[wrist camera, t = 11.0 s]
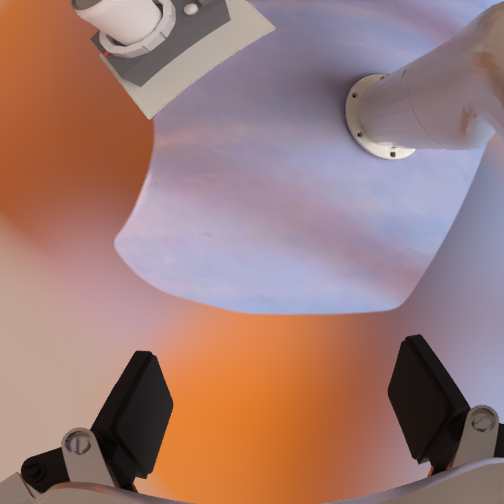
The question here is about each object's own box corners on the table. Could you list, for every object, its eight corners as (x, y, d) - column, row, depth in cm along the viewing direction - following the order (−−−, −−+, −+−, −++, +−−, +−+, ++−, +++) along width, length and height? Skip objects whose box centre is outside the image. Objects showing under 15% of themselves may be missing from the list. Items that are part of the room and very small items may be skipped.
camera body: (192, -13, 26) (179, -40, 18) (230, 20, 28) (223, -8, 21) (110, 49, 30) (82, 34, 22) (140, 87, 32) (114, 74, 24)
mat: (211, -27, 25) (210, -28, 25) (275, 29, 29) (275, 28, 29) (99, 56, 30) (98, 55, 30) (149, 119, 34) (148, 119, 34)
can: (123, 55, 25) (69, 25, 14) (114, 23, 23) (65, -11, 12) (169, 31, 24) (129, -14, 13) (157, 0, 22) (119, -45, 11)
